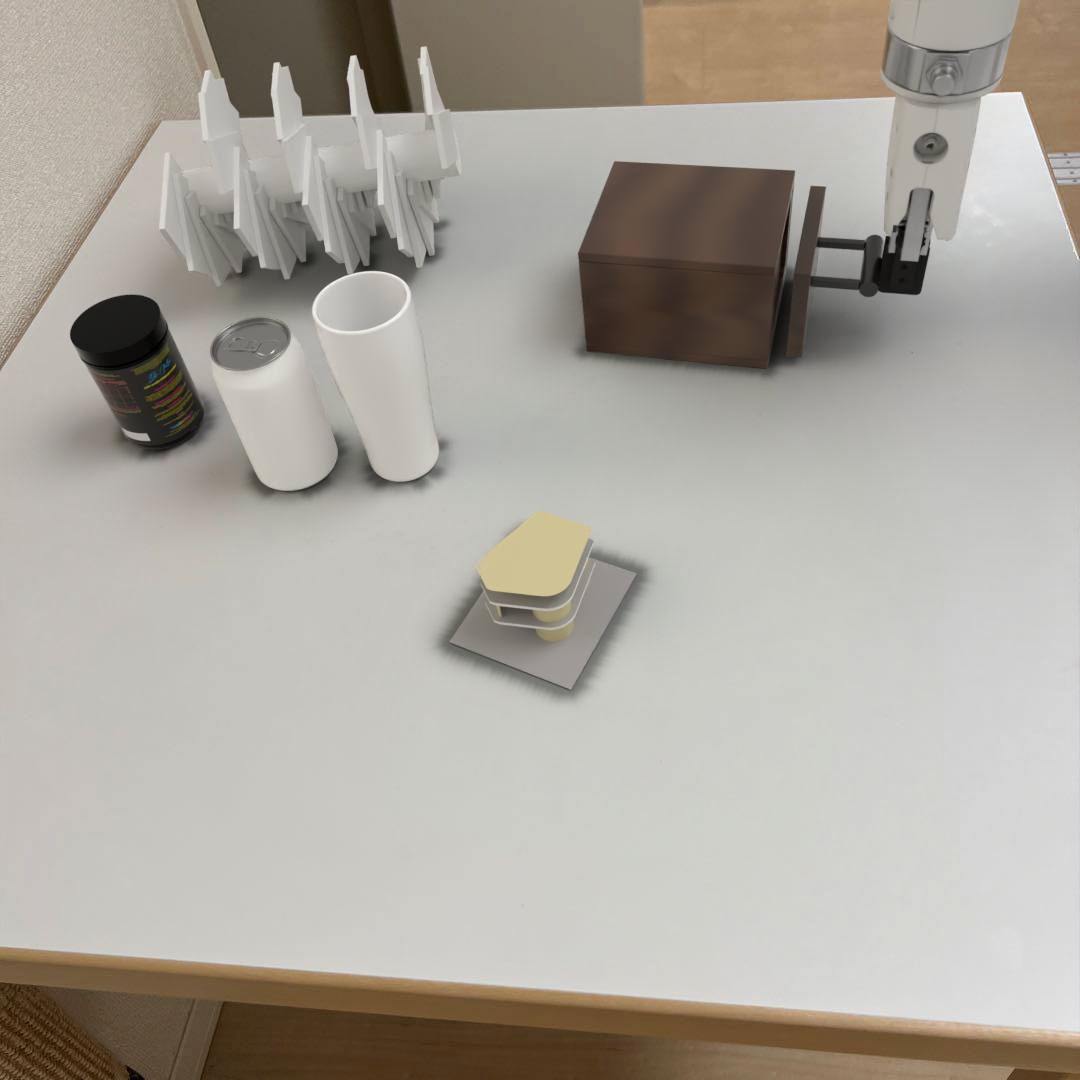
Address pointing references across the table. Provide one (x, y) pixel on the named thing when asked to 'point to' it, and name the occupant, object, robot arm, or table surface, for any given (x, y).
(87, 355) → the supplement container
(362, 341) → the drinking glass
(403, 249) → the spiral staircase
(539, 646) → the stacked layers on plate
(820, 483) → the table surface
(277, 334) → the can
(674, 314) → the cabinet
